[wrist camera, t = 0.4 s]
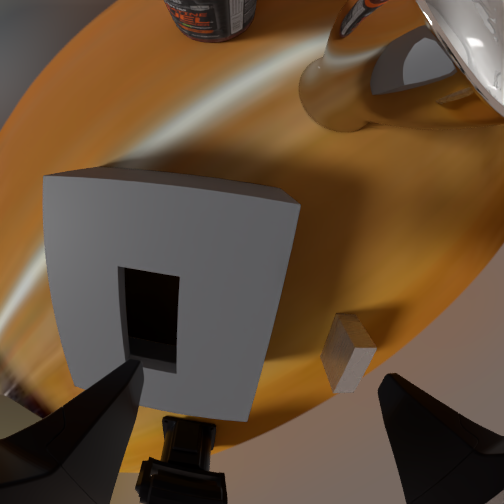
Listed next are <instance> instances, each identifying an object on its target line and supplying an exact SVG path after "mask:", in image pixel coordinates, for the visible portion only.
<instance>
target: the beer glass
mask: <svg viewBox="0 0 504 504" xmlns="http://www.w3.org/2000/svg"><path fill="white" fill-rule="evenodd" d="M299 96H300V100H301V103H302V105H303V107H304V109H305V111H306V112H307V113H308V115H309V116H310V117H311V118H312V119H313V120H314V121H315V122H317V123H318V124H319V125H321V126H323V127H324V128H327V129H329V130H332V131H336V132H352V131H356V130H358V129H361V128H362V127H364V126H366V125H367V124H368V123H370V122H374V123H380V124H385V125H390V126H396V127H403V128H411V129H419V130H450V129H465V128H475V127H485V126H493V125H502V124H504V0H347V2H346V3H345V4H344V6H343V7H342V9H341V10H340V12H339V14H338V16H337V18H336V20H335V23H334V25H333V27H332V29H331V32H330V35H329V38H328V42H327V45H326V48H325V52H324V55H323V57H321V58H319V59H317V60H315V61H313V62H312V63H310V64H309V65H308V66H307V67H306V68H305V70H304V71H303V73H302V75H301V77H300V81H299Z"/></svg>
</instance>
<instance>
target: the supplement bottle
mask: <svg viewBox="0 0 504 504" xmlns="http://www.w3.org/2000/svg"><path fill="white" fill-rule="evenodd" d="M256 1H257V0H164V2H165V4H166V6H167V8H168V10H169V12H170V14H171V16H172V18H173V20H174V21H175V23H176V26H177V27H178V28H179V29H180V31H181V32H182V33H183V34H184V35H186V36H187V37H189V38H191V39H193V40H196V41H200V42H223V41H226V40H229V39H231V38H233V37H236V36H238V35H239V34H241V33H242V32H244V31H245V30H246V29H247V28H248V27H249V25H250V24H251V22H252V20H253V18H254V14H255V9H256Z"/></svg>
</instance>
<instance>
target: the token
mask: <svg viewBox="0 0 504 504" xmlns="http://www.w3.org/2000/svg"><path fill="white" fill-rule="evenodd" d="M376 349H377V347H376V345H375V344H374V342H373V341H372V339H371V337H370V336H369V334H368V333H367V331H366V330H365V328H364V327H363V325H362V323H361V322H360V320H359V319H358V317H357V316H356V315H354V314H341V313H336V315H335V318H334V321H333V323H332V326H331V329H330V332H329V334H328V337H327V340H326V342H325V345H324V348H323V350H322V353H321V355H320V358H321V360H322V363H323V366H324V369H325V372H326V374H327V377H328V380H329V383H330V386H331V389H332V391H333V393H349V392H354V391H355V389H356V387H357V386H358V384H359V382H360V380H361V378H362V377H363V375H364V373H365V371H366V369H367V367H368V365H369V363H370V361H371V359H372V357H373V355H374V353H375V351H376Z"/></svg>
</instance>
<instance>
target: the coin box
mask: <svg viewBox="0 0 504 504" xmlns="http://www.w3.org/2000/svg"><path fill="white" fill-rule="evenodd" d="M300 207H301V205H300V204H299V203H298V202H297V201H295V200H294V199H293V198H292V197H291V196H289V195H288V194H287V193H286V192H284V191H283V190H282V189H281V188H276V187H270V186H264V185H258V184H252V183H246V182H239V181H233V180H226V179H219V178H212V177H204V176H196V175H188V174H179V173H170V172H160V171H150V170H138V169H125V168H111V167H93V168H86V169H79V170H73V171H67V172H61V173H55V174H50V175H44V176H43V228H44V244H45V255H46V264H47V272H48V280H49V286H50V292H51V298H52V304H53V309H54V314H55V318H56V323H57V327H58V331H59V335H60V339H61V343H62V347H63V350H64V354H65V357H66V360H67V364H68V367H69V370H70V373H71V376H72V379H73V382H74V385H75V386H77V387H80V388H82V389H85V390H86V389H88V388H89V387H91V386H92V385H93V384H95V383H96V382H98V381H99V380H100V379H102V378H103V377H105V376H106V375H107V374H109V373H110V372H112V371H113V370H114V369H116V368H117V367H119V366H120V365H121V364H123V363H124V362H126V361H127V360H128V359H131V358H132V359H137V360H140V361H142V364H143V372H144V384H143V389H142V393H141V398H140V403H139V405H140V406H144V407H149V408H153V409H158V410H163V411H168V412H173V413H178V414H184V415H190V416H197V417H204V418H212V419H221V420H230V421H242V422H247V420H248V417H249V413H250V410H251V407H252V403H253V400H254V396H255V393H256V389H257V385H258V382H259V378H260V375H261V371H262V367H263V363H264V360H265V356H266V352H267V348H268V345H269V341H270V337H271V333H272V329H273V325H274V321H275V317H276V313H277V309H278V305H279V301H280V297H281V292H282V288H283V284H284V280H285V275H286V271H287V267H288V262H289V258H290V254H291V249H292V244H293V240H294V235H295V231H296V226H297V221H298V216H299V212H300ZM124 267H126V268H131V269H137V270H143V271H149V272H155V273H161V274H167V275H173V276H179V277H180V283H179V301H178V324H177V346H175V345H169V344H164V343H159V342H154V341H149V340H144V339H139V338H135V337H130V336H128V328H127V316H126V299H125V270H124Z"/></svg>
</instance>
